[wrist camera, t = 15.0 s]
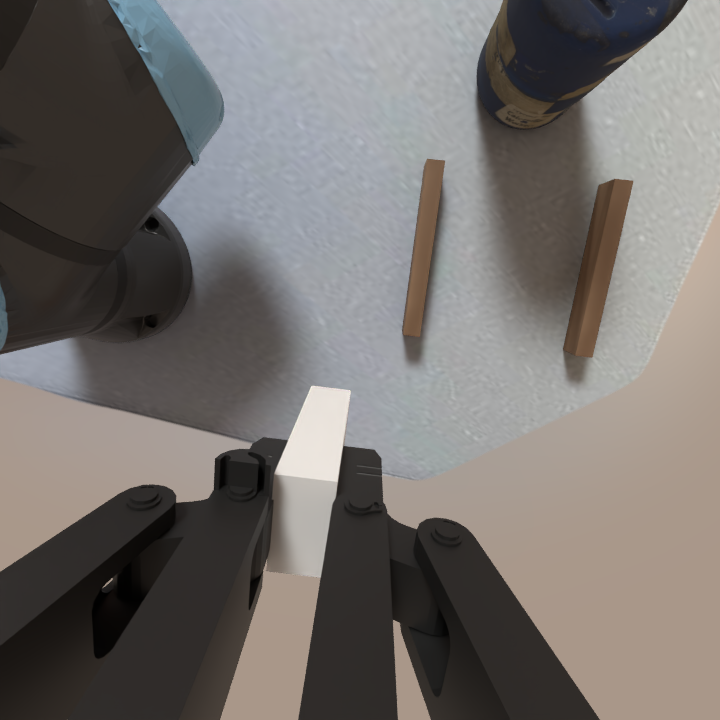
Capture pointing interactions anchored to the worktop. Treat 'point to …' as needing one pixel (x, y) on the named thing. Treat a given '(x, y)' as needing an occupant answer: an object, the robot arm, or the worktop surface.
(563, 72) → the canister
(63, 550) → the robot arm
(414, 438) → the worktop surface
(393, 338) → the worktop surface
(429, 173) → the walnut chute
